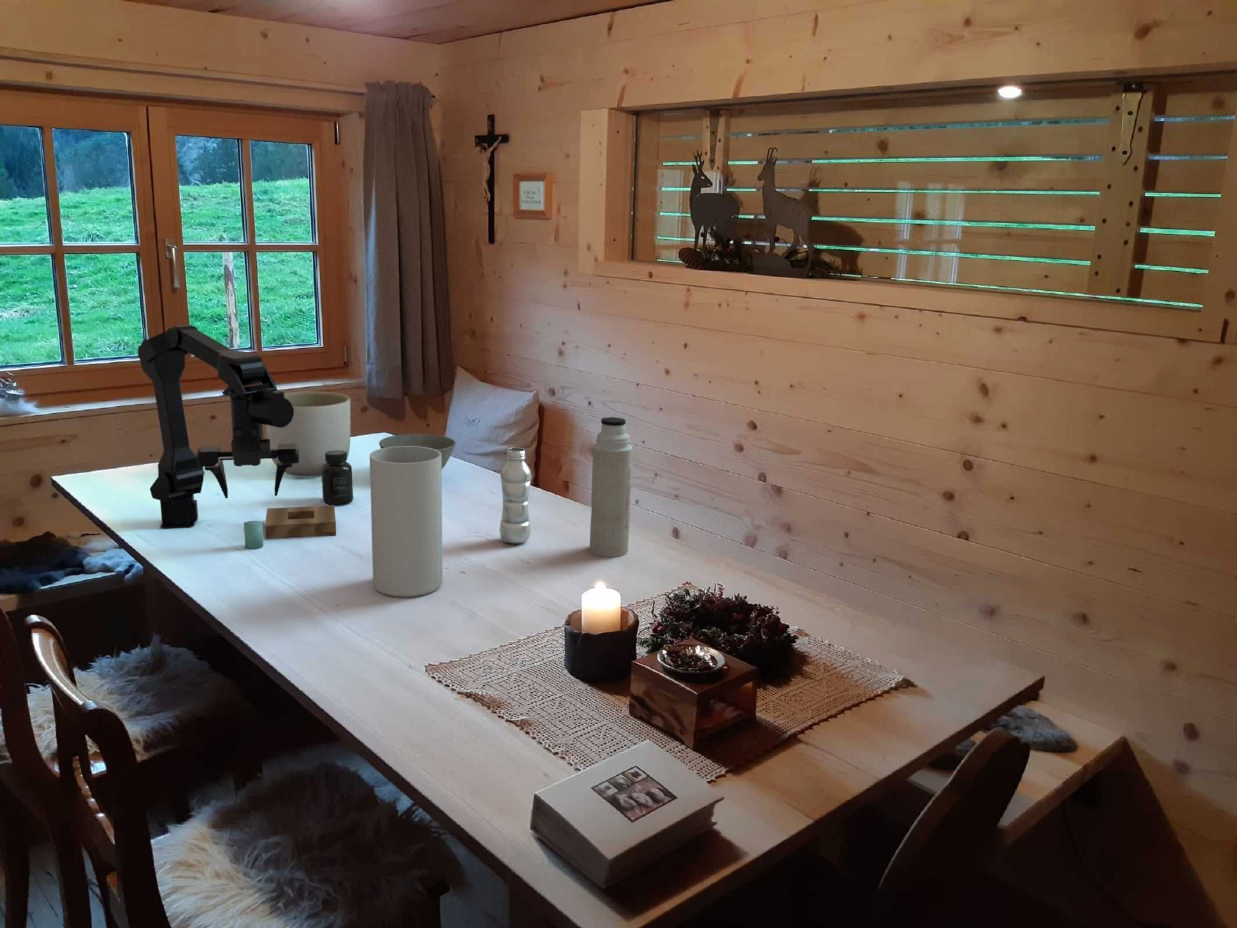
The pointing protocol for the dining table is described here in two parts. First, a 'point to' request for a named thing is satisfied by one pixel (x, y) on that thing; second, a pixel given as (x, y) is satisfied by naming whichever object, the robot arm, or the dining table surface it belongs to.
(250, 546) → the pin
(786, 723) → the dining table surface
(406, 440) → the bowl
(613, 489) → the thermos bottle
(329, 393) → the planter
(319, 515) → the bore block
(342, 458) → the supplement bottle
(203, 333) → the robot arm
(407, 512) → the cylinder vase
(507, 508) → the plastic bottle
